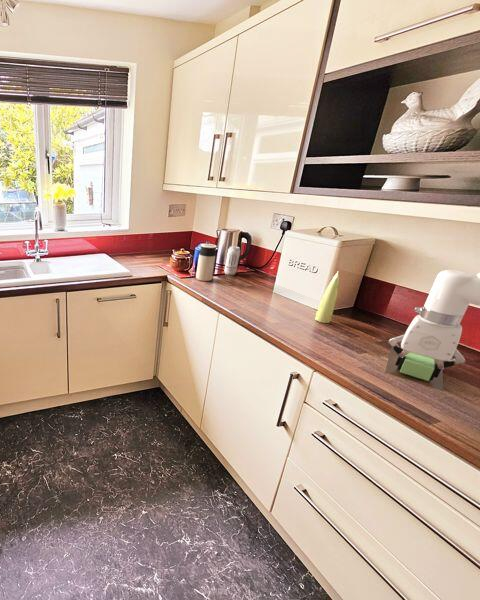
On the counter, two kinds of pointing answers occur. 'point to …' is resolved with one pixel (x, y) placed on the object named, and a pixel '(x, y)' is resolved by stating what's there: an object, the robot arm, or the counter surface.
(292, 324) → the counter surface
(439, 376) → the stand
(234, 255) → the white bottle
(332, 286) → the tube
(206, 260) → the travel mug
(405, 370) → the block
